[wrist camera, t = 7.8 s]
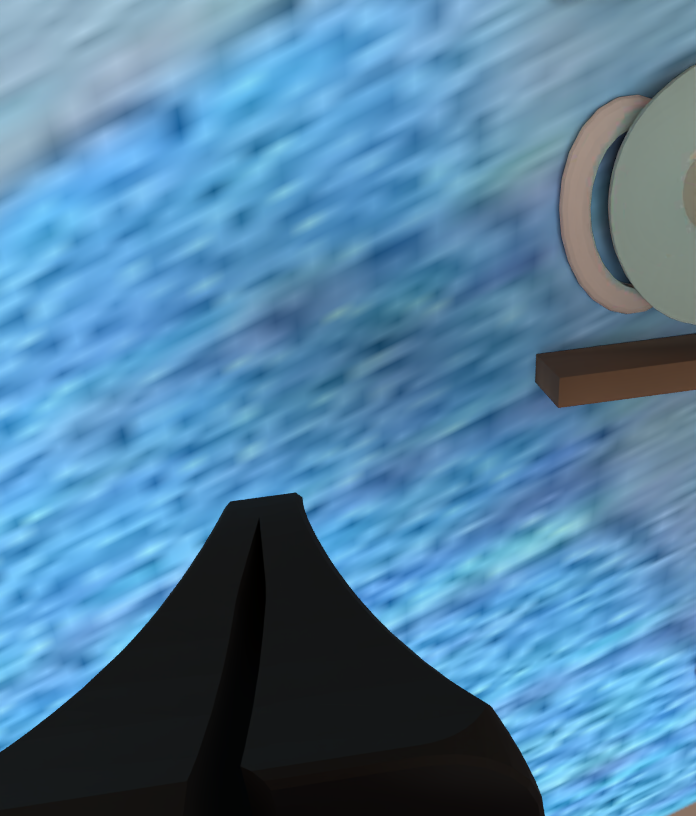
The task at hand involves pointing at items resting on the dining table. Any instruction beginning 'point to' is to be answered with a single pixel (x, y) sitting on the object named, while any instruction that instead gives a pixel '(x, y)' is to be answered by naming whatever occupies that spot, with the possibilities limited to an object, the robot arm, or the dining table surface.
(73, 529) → the dining table surface
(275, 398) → the dining table surface
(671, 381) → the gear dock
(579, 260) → the pacifier
